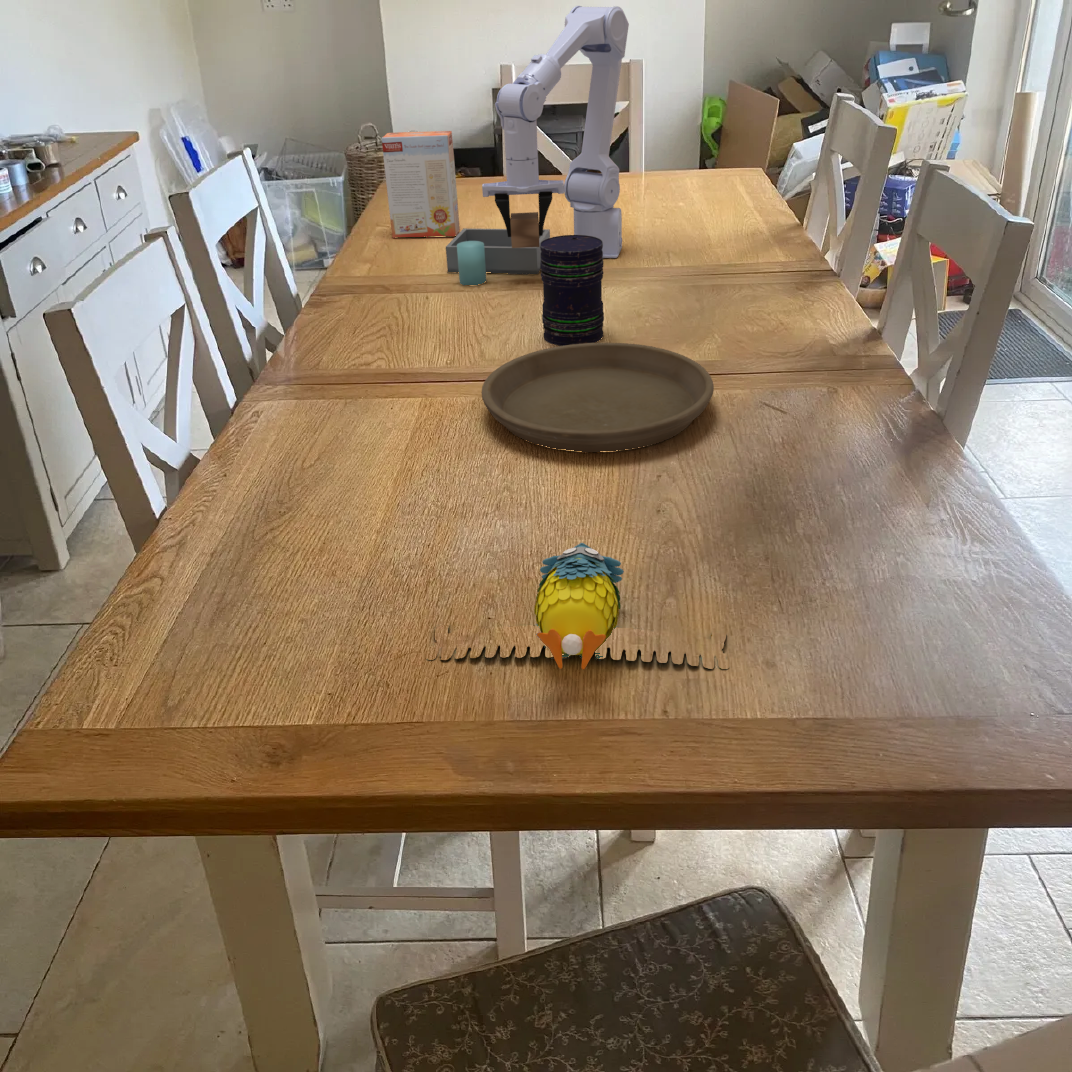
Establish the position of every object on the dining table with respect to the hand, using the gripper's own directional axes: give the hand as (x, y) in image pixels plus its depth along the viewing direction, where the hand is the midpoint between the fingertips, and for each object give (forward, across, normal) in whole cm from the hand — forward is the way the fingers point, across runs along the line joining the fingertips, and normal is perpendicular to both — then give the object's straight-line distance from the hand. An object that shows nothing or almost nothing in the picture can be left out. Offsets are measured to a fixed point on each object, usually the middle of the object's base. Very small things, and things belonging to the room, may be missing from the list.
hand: (525, 235), depth 193 cm
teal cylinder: (+8, -10, 0) cm, 13 cm away
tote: (+8, -5, +11) cm, 15 cm away
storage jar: (+8, +8, -31) cm, 33 cm away
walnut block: (+2, 0, 0) cm, 2 cm away
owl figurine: (+9, +5, -114) cm, 114 cm away
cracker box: (+9, -22, +36) cm, 43 cm away
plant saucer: (+9, +10, -61) cm, 63 cm away
